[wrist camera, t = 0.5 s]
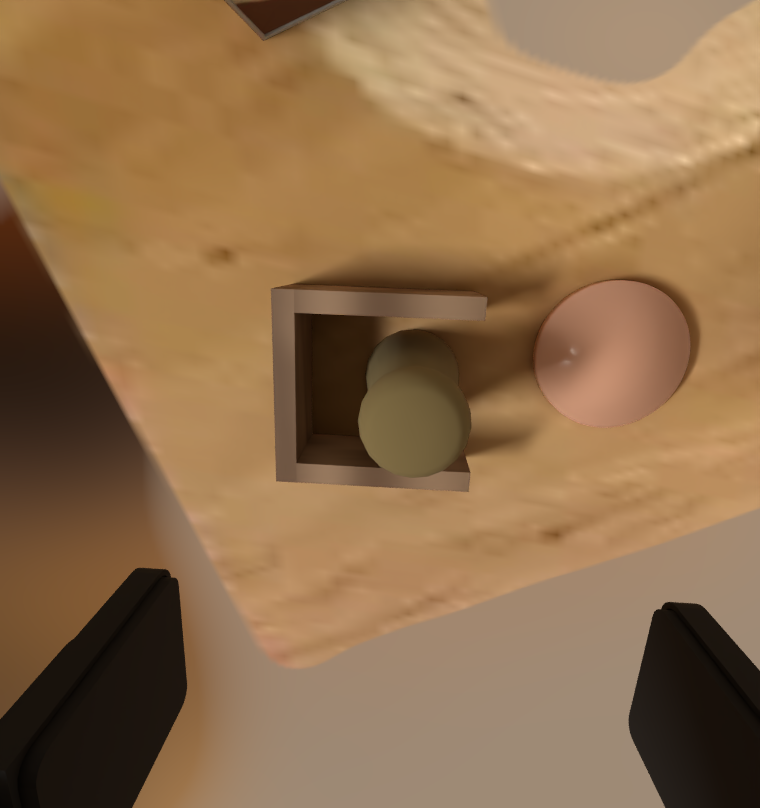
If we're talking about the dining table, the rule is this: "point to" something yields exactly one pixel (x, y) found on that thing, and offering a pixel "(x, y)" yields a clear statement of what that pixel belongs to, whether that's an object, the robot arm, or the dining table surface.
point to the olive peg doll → (413, 405)
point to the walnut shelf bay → (292, 376)
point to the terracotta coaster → (611, 353)
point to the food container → (278, 13)
